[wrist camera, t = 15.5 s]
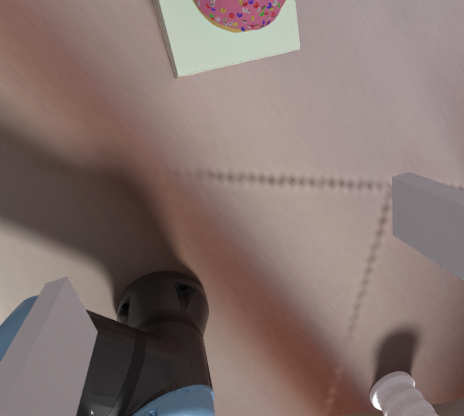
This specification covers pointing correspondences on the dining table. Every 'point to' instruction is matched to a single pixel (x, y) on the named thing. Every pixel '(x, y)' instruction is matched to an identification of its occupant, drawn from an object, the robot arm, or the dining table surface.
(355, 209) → the dining table surface
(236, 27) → the cupcake
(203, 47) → the tower top
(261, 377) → the dining table surface
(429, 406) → the decorative container
